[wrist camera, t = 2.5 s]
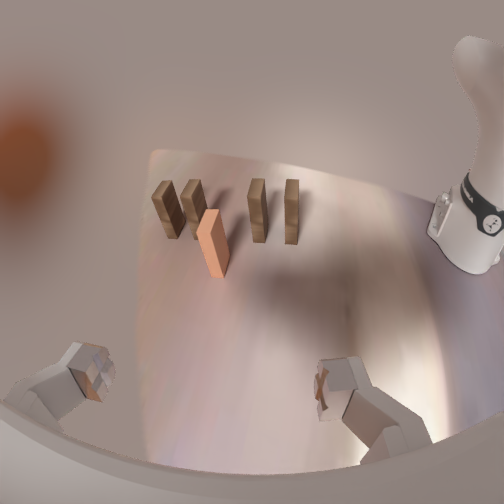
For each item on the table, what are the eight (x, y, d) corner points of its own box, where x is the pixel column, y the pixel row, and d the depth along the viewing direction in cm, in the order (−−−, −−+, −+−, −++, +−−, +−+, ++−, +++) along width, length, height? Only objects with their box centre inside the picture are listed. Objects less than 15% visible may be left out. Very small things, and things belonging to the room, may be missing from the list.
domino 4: (268, 224, 50) (264, 178, 43) (264, 243, 47) (260, 196, 40) (257, 223, 50) (252, 178, 43) (253, 242, 47) (247, 196, 40)
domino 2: (211, 222, 52) (200, 179, 45) (204, 240, 49) (191, 196, 42) (201, 221, 52) (189, 179, 45) (194, 239, 49) (179, 196, 42)
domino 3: (230, 255, 46) (219, 209, 38) (223, 278, 43) (210, 232, 35) (218, 254, 46) (206, 209, 39) (211, 277, 43) (196, 232, 36)
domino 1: (185, 221, 53) (171, 180, 46) (177, 238, 50) (161, 196, 42) (176, 221, 53) (162, 180, 46) (168, 238, 50) (151, 197, 43)
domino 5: (298, 225, 49) (298, 179, 42) (296, 244, 46) (298, 197, 39) (287, 224, 49) (286, 179, 42) (285, 244, 46) (284, 197, 39)
